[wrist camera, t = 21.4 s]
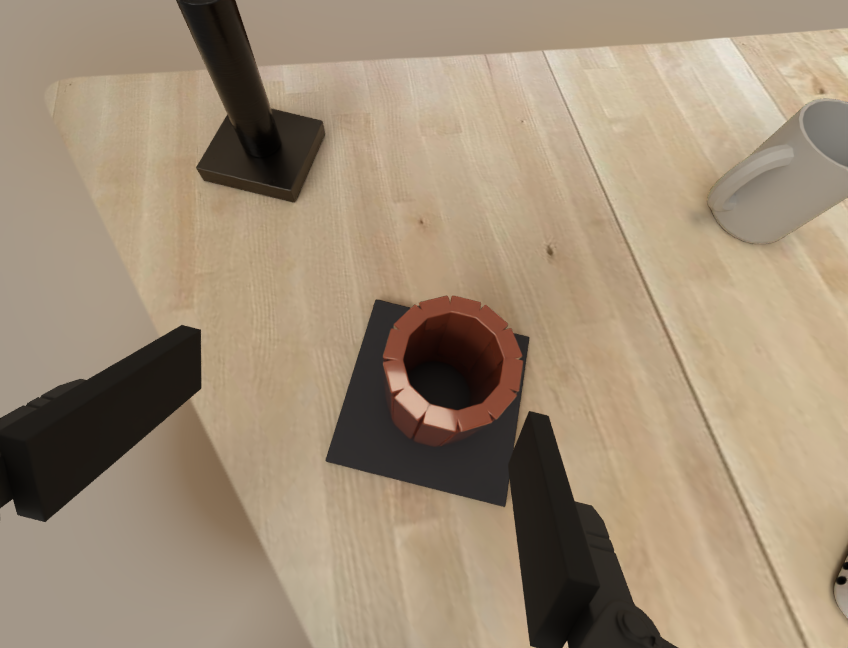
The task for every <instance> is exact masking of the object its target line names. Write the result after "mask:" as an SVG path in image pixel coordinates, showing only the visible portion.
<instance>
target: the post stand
mask: <svg viewBox="0 0 848 648" xmlns="http://www.w3.org/2000/svg"><path fill="white" fill-rule="evenodd" d="M176 1H177V3H178V6H179V8H180V10H181V12H182V14H183V17H184V19H185V21H186V23H187V26H188V28H189V30H190V32H191V34H192V37H193V39H194V41H195V43H196V45H197V48H198V50H199V52H200V54H201V56H202V59H203V61H204V63H205V65H206V68H207V70H208V72H209V74H210V76H211V79H212V81H213V83H214V85H215V88H216V90H217V92H218V94H219V96H220V99H221V101H222V103H223V105H224V108H225V110H226V112H227V116H226V118H225V119H224V121H223V123H222V124H221V126H220V128H219V130H218V131H217V133H216V135H215V136H214V138H213V140H212V142H211V143H210V145H209V147H208V148H207V150H206V152H205V153H204V155H203V157H202V159H201V160H200V162H199V164H198V165H197V167H196V169H197V170H198V172H199V173H200V175H201V177H202V178H203V180H204V181H208V182H212V183H217V184H221V185H225V186H229V187H233V188H237V189H241V190H245V191H250V192H254V193H258V194H262V195H266V196H270V197H274V198H278V199H282V200H287V201H291V202H295V201H296V199H297V197H298V194H299V192H300V190H301V188H302V185H303V183H304V181H305V179H306V176H307V174H308V172H309V170H310V167H311V165H312V163H313V161H314V158H315V156H316V154H317V152H318V149H319V147H320V145H321V142H322V140H323V138H324V136H325V131H324V125H323V121H321V120H317V119H313V118H308V117H304V116H300V115H296V114H292V113H288V112H283V111H279V110H275V109H271V108H270V105H269V101H268V98H267V95H266V92H265V89H264V86H263V83H262V80H261V77H260V74H259V71H258V68H257V65H256V62H255V59H254V56H253V53H252V50H251V47H250V43H249V40H248V38H247V35H246V31H245V29H244V25H243V22H242V19H241V16H240V13H239V10H238V7H237V4H236V1H235V0H176Z"/></svg>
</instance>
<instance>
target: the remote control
mask: <svg viewBox="0 0 848 648" xmlns="http://www.w3.org/2000/svg"><path fill="white" fill-rule="evenodd" d="M834 595H835V599H836V602H837V604H838V607H839V608H840V610H841V611H842V613H843V614H844V615H845V616H846V617H847V618H848V556H847V558H846V560H845V563H844V564H843V567H842V569H841V571H840V574H839V576H838V578H837V579H836V583H835V586H834Z"/></svg>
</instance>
